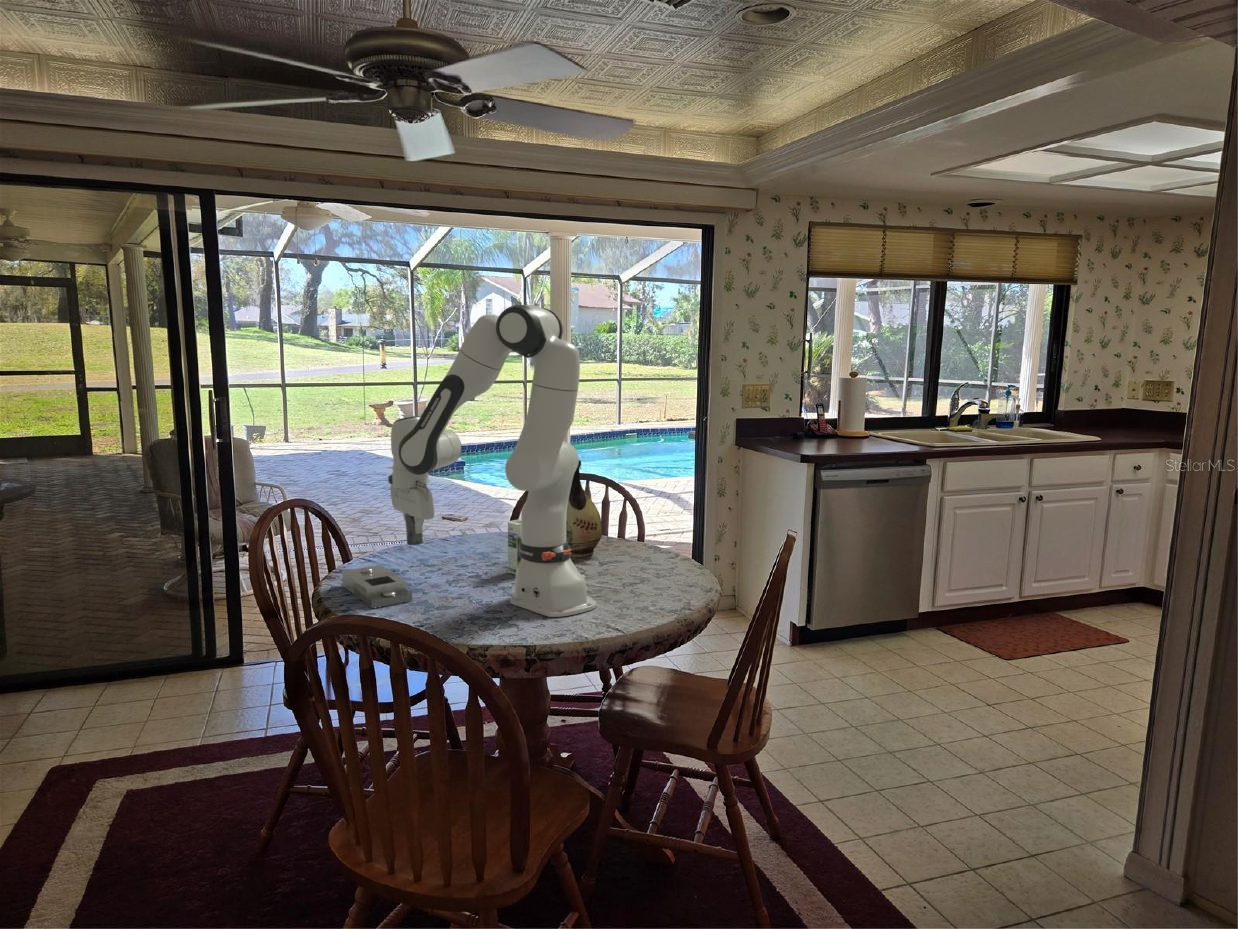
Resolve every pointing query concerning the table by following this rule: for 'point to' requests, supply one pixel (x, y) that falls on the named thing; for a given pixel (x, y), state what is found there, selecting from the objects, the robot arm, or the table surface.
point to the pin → (412, 532)
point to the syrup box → (514, 545)
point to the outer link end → (372, 581)
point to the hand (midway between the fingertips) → (414, 531)
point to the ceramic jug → (581, 520)
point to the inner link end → (385, 598)
